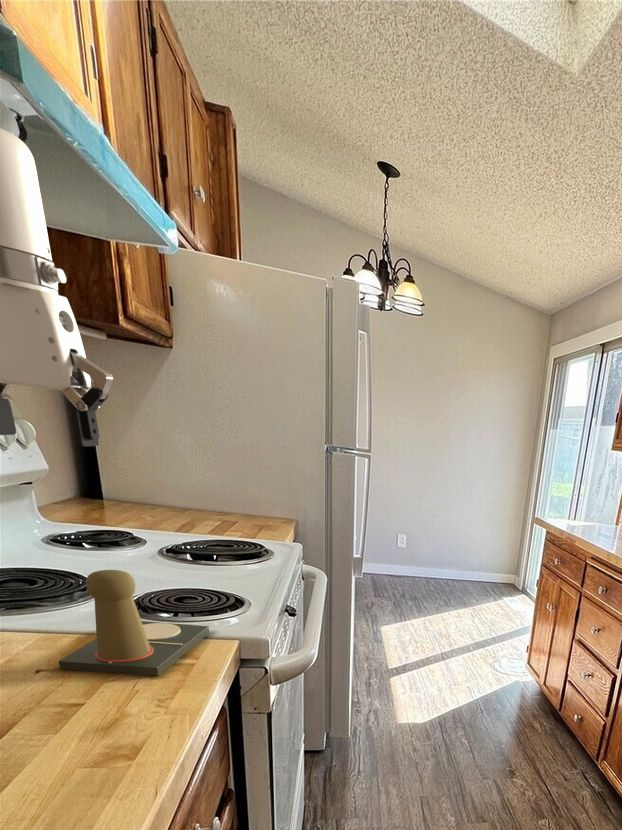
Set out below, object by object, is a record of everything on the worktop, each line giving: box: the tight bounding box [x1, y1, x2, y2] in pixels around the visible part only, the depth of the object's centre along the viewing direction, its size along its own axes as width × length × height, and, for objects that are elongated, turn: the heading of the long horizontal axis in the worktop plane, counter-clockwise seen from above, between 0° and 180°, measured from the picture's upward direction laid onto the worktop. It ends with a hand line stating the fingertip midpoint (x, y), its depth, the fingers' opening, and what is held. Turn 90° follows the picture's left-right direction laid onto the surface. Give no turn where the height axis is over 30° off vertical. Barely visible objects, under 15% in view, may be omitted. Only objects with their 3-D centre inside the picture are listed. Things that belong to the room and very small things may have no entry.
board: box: [57, 620, 210, 677], centre depth 79 cm, size 12×16×1 cm
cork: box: [85, 569, 151, 660], centre depth 73 cm, size 6×6×11 cm
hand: (46, 440), depth 68 cm, fingers open, 9 cm apart
